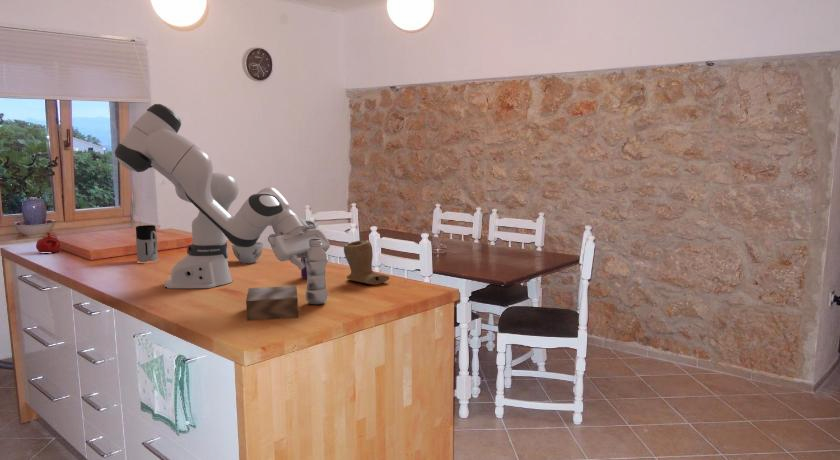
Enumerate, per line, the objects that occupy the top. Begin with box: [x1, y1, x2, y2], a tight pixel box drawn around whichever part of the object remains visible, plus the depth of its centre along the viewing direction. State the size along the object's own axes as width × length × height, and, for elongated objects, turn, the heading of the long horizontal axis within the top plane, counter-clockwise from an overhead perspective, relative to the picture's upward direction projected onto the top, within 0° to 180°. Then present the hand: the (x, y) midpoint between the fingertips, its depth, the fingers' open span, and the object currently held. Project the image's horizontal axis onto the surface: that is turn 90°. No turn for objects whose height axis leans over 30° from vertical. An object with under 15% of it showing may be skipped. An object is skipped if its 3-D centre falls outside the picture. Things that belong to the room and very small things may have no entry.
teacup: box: [231, 241, 264, 264], centre depth 255 cm, size 15×12×8 cm
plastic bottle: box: [305, 239, 328, 305], centre depth 187 cm, size 6×7×20 cm
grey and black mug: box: [135, 224, 159, 262], centre depth 254 cm, size 9×14×15 cm, turn 46°
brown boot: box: [343, 239, 390, 286], centre depth 217 cm, size 15×12×15 cm
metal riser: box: [245, 285, 299, 321], centre depth 179 cm, size 14×14×6 cm
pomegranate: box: [35, 232, 61, 253], centre depth 279 cm, size 10×10×9 cm
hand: (314, 265), depth 187 cm, fingers open, 8 cm apart
